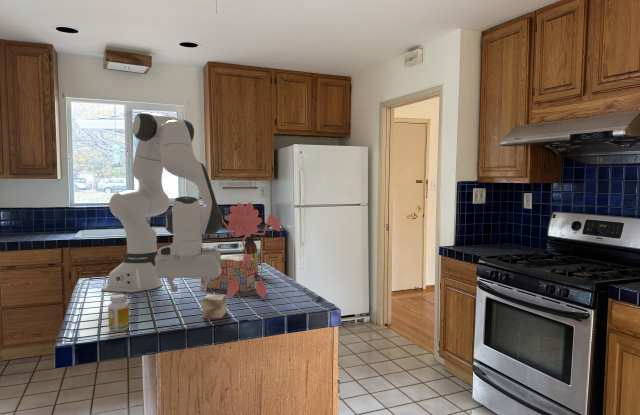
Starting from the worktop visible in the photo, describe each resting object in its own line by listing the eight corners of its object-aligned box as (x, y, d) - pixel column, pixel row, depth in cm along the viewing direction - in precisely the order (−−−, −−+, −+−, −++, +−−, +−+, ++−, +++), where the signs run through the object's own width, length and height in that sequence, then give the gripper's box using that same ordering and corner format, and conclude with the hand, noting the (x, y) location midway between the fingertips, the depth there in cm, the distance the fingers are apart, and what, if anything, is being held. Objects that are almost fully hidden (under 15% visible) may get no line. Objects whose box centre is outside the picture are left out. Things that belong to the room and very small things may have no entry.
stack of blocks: (200, 287, 179) (199, 257, 178) (210, 284, 184) (209, 254, 184) (247, 292, 171) (246, 260, 170) (255, 288, 176) (254, 257, 176)
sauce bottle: (254, 273, 204) (254, 230, 202) (260, 276, 199) (260, 231, 197) (241, 275, 200) (240, 231, 199) (247, 277, 195) (246, 232, 194)
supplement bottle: (131, 325, 133) (130, 293, 133) (126, 331, 128) (125, 297, 127) (112, 326, 133) (111, 293, 132) (106, 332, 127) (105, 298, 127)
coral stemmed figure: (215, 294, 168) (213, 201, 165) (283, 295, 166) (282, 201, 163) (202, 306, 153) (199, 204, 150) (276, 308, 151) (275, 204, 148)
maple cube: (221, 299, 139) (221, 318, 139) (225, 294, 145) (226, 312, 145) (202, 299, 139) (202, 318, 139) (207, 294, 145) (207, 312, 145)
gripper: (222, 246, 144) (223, 288, 145) (160, 246, 145) (161, 289, 146) (218, 249, 138) (219, 293, 139) (152, 250, 138) (153, 294, 139)
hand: (189, 291), depth 142 cm, fingers open, 8 cm apart
